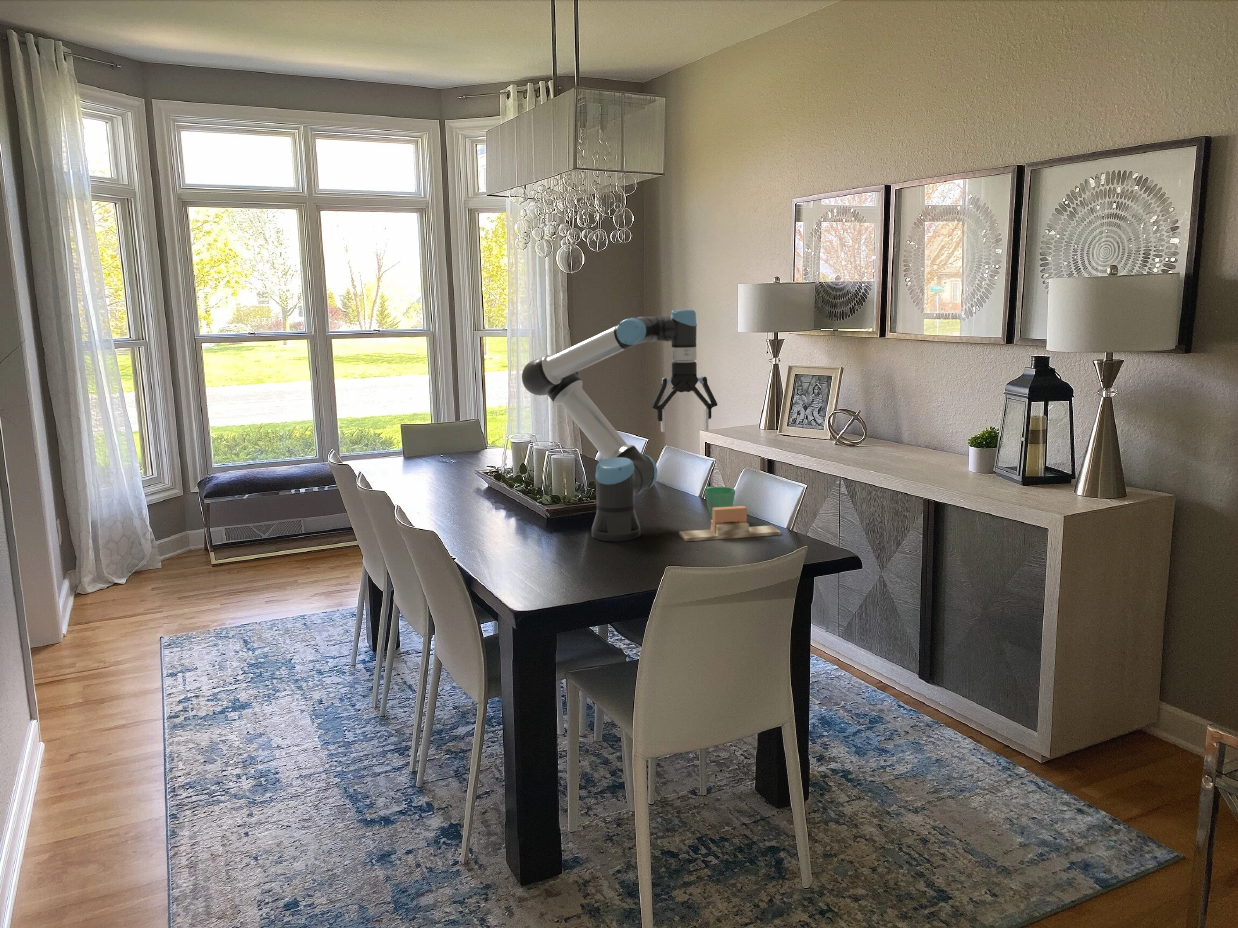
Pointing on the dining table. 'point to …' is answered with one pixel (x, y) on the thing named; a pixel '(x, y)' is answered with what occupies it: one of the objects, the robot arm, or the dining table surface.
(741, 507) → the clip
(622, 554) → the dining table surface
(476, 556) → the dining table surface
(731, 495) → the green tapered cup
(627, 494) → the robot arm
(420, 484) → the dining table surface
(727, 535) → the rail
